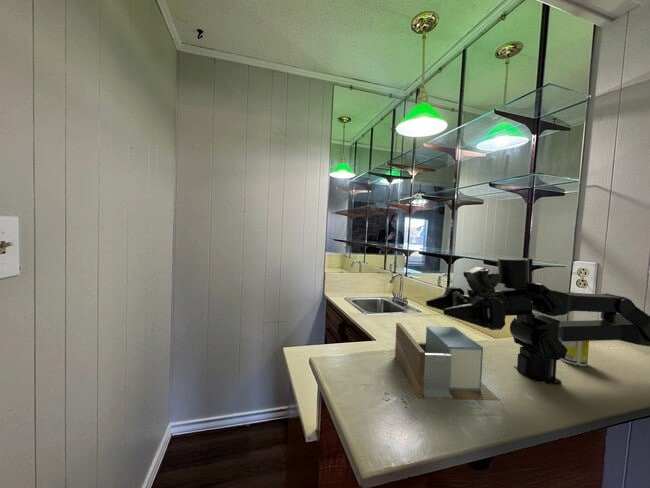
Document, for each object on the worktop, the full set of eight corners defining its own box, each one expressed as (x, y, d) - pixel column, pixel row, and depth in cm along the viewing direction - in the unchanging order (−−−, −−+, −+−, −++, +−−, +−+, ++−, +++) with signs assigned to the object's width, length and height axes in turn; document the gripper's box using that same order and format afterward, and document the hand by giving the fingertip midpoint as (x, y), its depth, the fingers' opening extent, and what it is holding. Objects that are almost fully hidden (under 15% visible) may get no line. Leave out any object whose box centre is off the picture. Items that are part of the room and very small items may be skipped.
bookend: (447, 392, 53) (449, 353, 53) (452, 398, 51) (454, 358, 51) (420, 391, 53) (422, 352, 53) (424, 397, 51) (426, 357, 51)
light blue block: (452, 362, 66) (454, 326, 66) (480, 390, 54) (483, 347, 54) (424, 361, 66) (426, 326, 66) (446, 389, 54) (449, 346, 54)
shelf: (456, 360, 68) (458, 324, 68) (500, 403, 51) (502, 354, 51) (394, 359, 68) (396, 322, 68) (417, 400, 51) (420, 352, 51)
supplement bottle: (582, 360, 71) (584, 322, 71) (591, 369, 66) (594, 329, 66) (555, 355, 73) (557, 319, 73) (562, 363, 68) (565, 324, 68)
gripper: (475, 266, 70) (417, 269, 70) (531, 270, 51) (452, 275, 51) (478, 308, 70) (419, 311, 69) (535, 328, 51) (456, 333, 51)
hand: (434, 307), depth 60 cm, fingers open, 9 cm apart
